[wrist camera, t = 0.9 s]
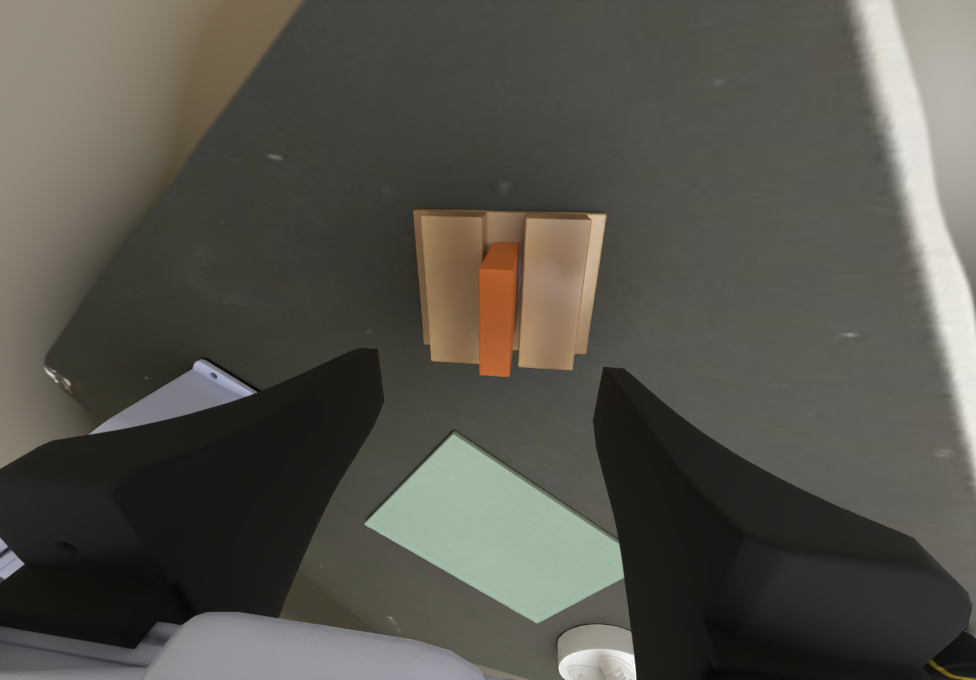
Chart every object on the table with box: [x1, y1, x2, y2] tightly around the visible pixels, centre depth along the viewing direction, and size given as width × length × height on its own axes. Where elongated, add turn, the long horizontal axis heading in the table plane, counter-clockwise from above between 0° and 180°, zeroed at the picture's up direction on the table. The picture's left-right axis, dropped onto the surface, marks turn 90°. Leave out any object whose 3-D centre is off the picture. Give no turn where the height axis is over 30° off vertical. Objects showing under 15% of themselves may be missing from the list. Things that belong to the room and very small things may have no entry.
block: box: [479, 242, 519, 377], centre depth 18 cm, size 1×5×6 cm, turn 0°
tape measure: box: [923, 631, 976, 680], centre depth 28 cm, size 7×7×4 cm
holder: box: [413, 209, 607, 370], centre depth 20 cm, size 10×8×3 cm
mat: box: [364, 431, 624, 623], centre depth 31 cm, size 20×14×1 cm
